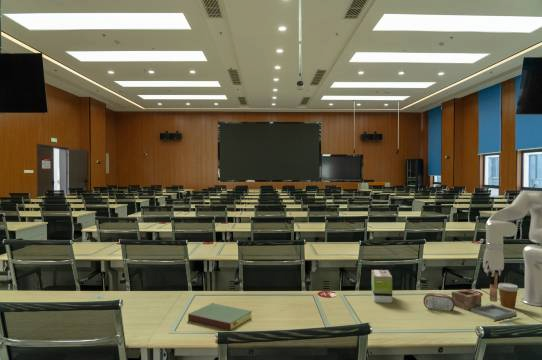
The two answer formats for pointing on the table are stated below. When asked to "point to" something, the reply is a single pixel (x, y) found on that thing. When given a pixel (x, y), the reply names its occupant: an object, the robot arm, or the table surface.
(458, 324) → the table surface
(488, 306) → the tray
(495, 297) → the dowel
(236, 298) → the table surface
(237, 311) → the hardcover book
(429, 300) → the tin
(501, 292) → the disposable coffee cup
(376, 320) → the table surface
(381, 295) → the tea box
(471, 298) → the socket block
